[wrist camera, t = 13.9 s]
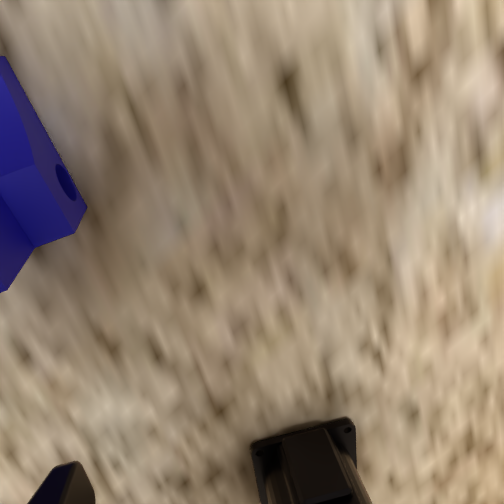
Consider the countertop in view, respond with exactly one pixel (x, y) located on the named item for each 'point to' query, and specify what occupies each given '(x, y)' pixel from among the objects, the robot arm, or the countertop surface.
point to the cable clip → (29, 182)
